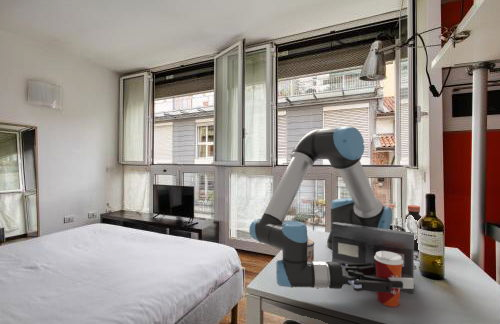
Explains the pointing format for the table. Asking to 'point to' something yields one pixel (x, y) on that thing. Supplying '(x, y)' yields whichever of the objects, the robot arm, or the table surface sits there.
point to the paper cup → (388, 275)
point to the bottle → (414, 212)
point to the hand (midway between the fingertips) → (405, 277)
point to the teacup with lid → (310, 250)
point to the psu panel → (372, 246)
